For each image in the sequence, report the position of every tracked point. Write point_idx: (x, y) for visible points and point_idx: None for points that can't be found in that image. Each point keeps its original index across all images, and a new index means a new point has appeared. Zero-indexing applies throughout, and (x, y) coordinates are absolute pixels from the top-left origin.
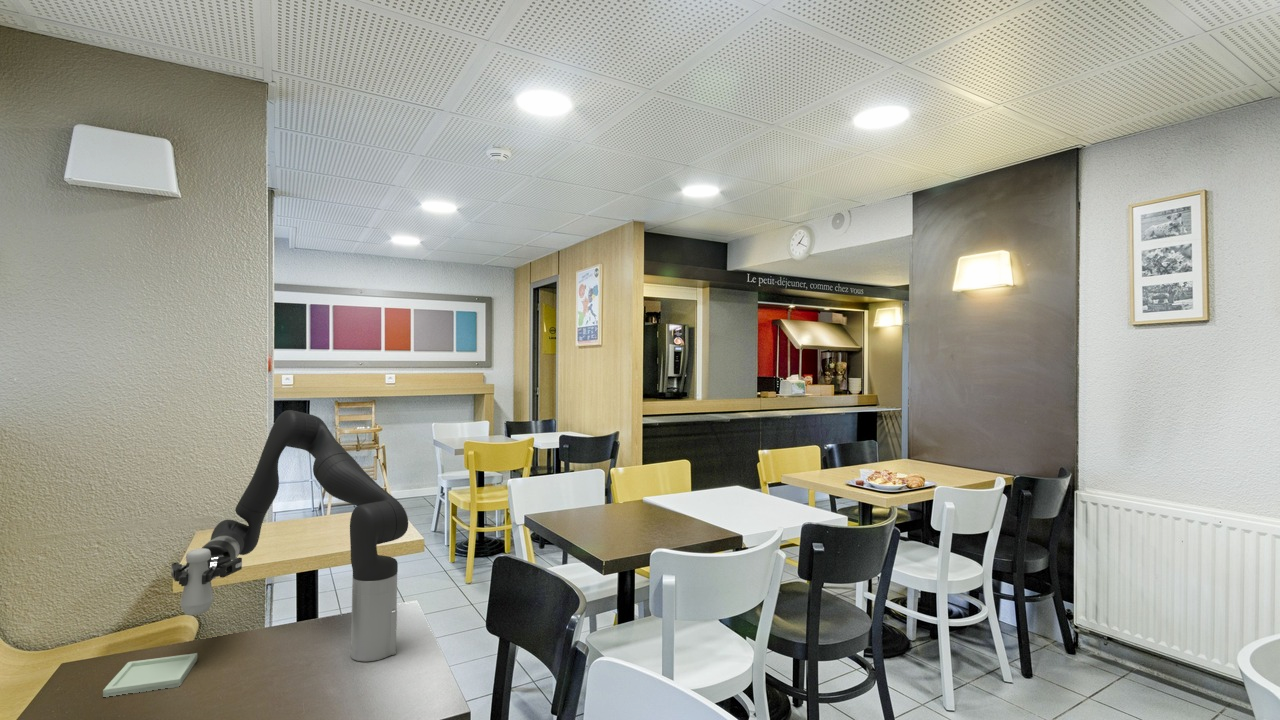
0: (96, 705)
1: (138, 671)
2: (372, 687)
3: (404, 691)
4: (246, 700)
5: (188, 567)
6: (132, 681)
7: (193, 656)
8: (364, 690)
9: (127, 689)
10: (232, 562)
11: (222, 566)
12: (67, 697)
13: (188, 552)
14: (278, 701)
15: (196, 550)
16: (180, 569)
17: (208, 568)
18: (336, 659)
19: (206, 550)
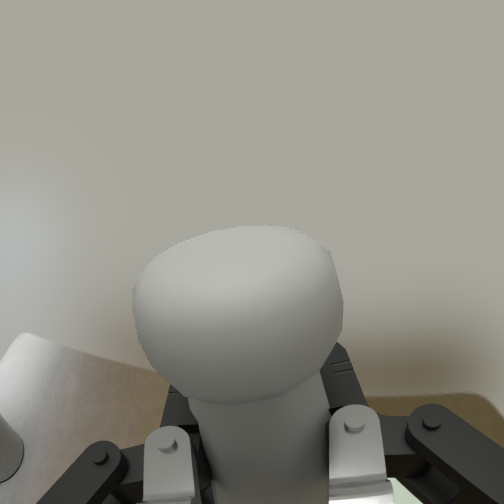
0: (402, 405)
1: (412, 500)
2: (41, 377)
3: (27, 361)
4: (165, 393)
5: (376, 460)
6: None
7: None
8: (49, 374)
9: None
10: (44, 497)
11: (107, 441)
12: (473, 421)
13: (309, 238)
14: (128, 380)
15: (241, 238)
16: (410, 416)
17: (189, 403)
18: (38, 464)
19: (158, 258)
